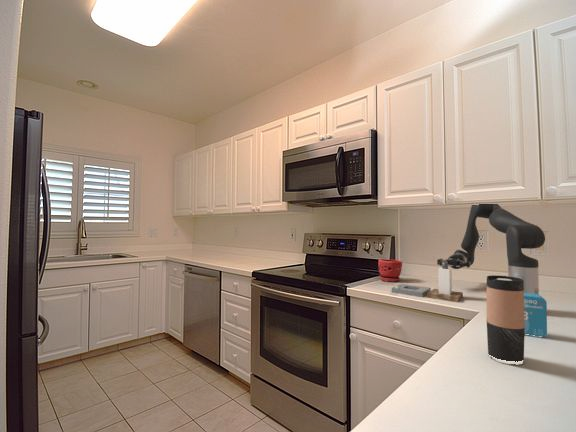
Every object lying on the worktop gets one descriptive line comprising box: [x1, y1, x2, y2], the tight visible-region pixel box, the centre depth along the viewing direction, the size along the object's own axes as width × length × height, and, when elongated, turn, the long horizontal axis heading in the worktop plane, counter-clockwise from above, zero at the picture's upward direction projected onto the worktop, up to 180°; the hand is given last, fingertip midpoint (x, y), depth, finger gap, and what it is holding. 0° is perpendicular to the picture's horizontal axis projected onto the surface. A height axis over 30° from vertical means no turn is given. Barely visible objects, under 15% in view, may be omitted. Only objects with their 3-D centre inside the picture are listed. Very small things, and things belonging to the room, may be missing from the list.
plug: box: [437, 262, 453, 295], centre depth 135 cm, size 4×4×16 cm
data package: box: [524, 293, 548, 338], centre depth 91 cm, size 12×4×12 cm, turn 60°
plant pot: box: [377, 258, 403, 283], centre depth 173 cm, size 13×13×12 cm
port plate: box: [391, 283, 432, 298], centre depth 144 cm, size 14×14×3 cm
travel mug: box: [486, 274, 526, 362], centre depth 74 cm, size 8×8×20 cm
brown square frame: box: [426, 288, 464, 303], centre depth 134 cm, size 12×12×2 cm
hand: (450, 264), depth 144 cm, fingers open, 8 cm apart
